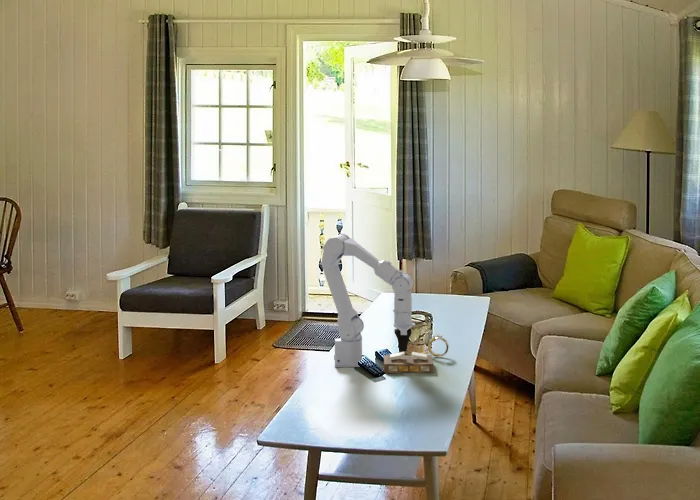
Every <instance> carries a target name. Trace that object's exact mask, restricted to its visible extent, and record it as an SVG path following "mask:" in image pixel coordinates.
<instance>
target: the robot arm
mask: <svg viewBox="0 0 700 500" xmlns="http://www.w3.org/2000/svg"><path fill="white" fill-rule="evenodd" d="M322 250H323V252H322V258H321V263H320V264H321V269H322V270H323V273H324V277H325V280H326V281H327V285H328V288H329V290H330V293H331V297H332V298H333V302H334V305H335V307H336V311H337V324H338V330H337V331H338V334H339V336H340V337H339V338H334V355H333V360H334V367H336V368H344V367H345V368H355V367H356V368H361V367H360V366H359V365H358V362H359V361H361V360H362V359H363V336H362V332H363V331H364V327H365V325H364V321H363V320H362V318H361V317H360V316H359V315H358V312H357V310H355V308H353V305H352V301H351V298H350V296H349V292H348V290H347V286H346V284H345V281H344V279H343V275H342V272H341V270H340V269H341V268H340V266H339V263H340V262H341V260H342V258H343V257H347V256H348V257H350V256H351V257H355V258H356V259H358V260H360V261H361V262H362V263H364V264H365V265H367V266H369V267H371V268H372V269H373V271H374V274H375V275H376V276H377V277H378V278H380V279H381V280H382V281H383V282H385V283H387V284H388V285H389V286H391V288H392V290H393V292H394V296H393V297H394V298H393V299H394V303H393V304H394V305H393V308H394V310H393V312H394V313H393V316H394V322H393V327H394V331H393V332H394V335H395V337H396V340H397V343H398V348H399V352H407V349H408V345H409V344H408V343H409V340H410V337H411V335H412V334H413V332H412V331H413V330H412V327H416V323H415V322H413V320H412V318H413V315H412V313H413V312H412V310H413V309H412V308H413V307H412V305H413V303H412V302H413V301H412V300H413V298H412V288H413V286H414V279H413V277H412V276H411V275H410V274H409V273H407V272H404V271H403V270H402V269H400V270H399V269H398V268H396V267H395V266H394V265H393V263H392V262H391V261H390V260H388V261H387V260H385V259H383V260H380V259H378V258H377V257H376V256H374V254H372V253H371V252H370V251H368V250H367V249H366V248H365V247H363V246H362V245H361V244H359V243H358V241H356V240H355V239H354V238H351V237H350V236H349V235H348V234H346V233H339V234H337V235H336V236H333V237H330V238H328V239H327V240H326V241H325V243H324V245H323V246H322Z"/></svg>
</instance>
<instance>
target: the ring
mask: <svg viewBox="0 0 700 500" xmlns="http://www.w3.org/2000/svg"><path fill="white" fill-rule="evenodd" d="M437 340H438V341H439V340H441V341H442V342H444V343H445V345H446V348H445V351H444V353H437V354H436V353H435V352H433V351H432V347H431V346H432V343H434V342H435V341H437ZM427 345H428V346H427V347H428V348H427V349H428V351H429V353H430V355H431V356H432V357H436V358H442V357H444V356H446V354H447V353H448V351H449V348H450V346H449V342H448V341H447V339H445V337H443V335H440V334H436V335H432V338H430V340H429V341H428V344H427Z"/></svg>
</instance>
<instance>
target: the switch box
mask: <svg viewBox="0 0 700 500" xmlns="http://www.w3.org/2000/svg"><path fill="white" fill-rule="evenodd" d="M426 355H427V359H426V360H423V359H417V358H412V354H411V355H408V354H405V358H400V359H394V360H391V359H390V354H389V355H387V354H385V355H383V368H384V369H383V370H384V374H433V373H434V361H433V355H432V354H429V355H428V354H426Z"/></svg>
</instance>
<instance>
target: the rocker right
mask: <svg viewBox="0 0 700 500" xmlns="http://www.w3.org/2000/svg"><path fill="white" fill-rule="evenodd" d="M411 355H412V358H417V359H423V360H426V359H427V355H428V354H427V353H421V352H416V351H411Z"/></svg>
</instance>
